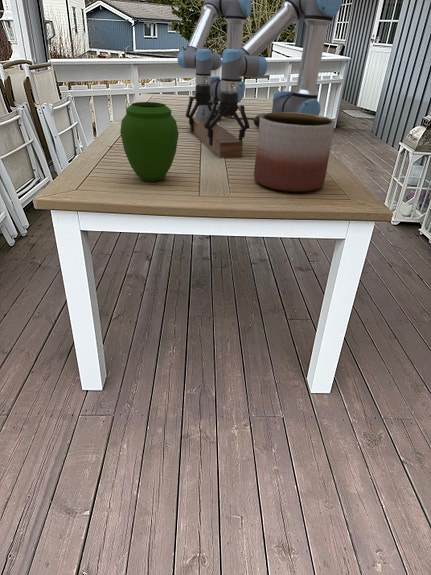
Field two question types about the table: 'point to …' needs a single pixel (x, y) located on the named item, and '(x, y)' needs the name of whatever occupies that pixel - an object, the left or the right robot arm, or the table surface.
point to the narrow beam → (218, 139)
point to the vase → (149, 139)
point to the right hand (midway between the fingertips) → (225, 145)
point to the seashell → (257, 119)
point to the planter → (293, 151)
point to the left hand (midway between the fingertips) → (201, 131)
